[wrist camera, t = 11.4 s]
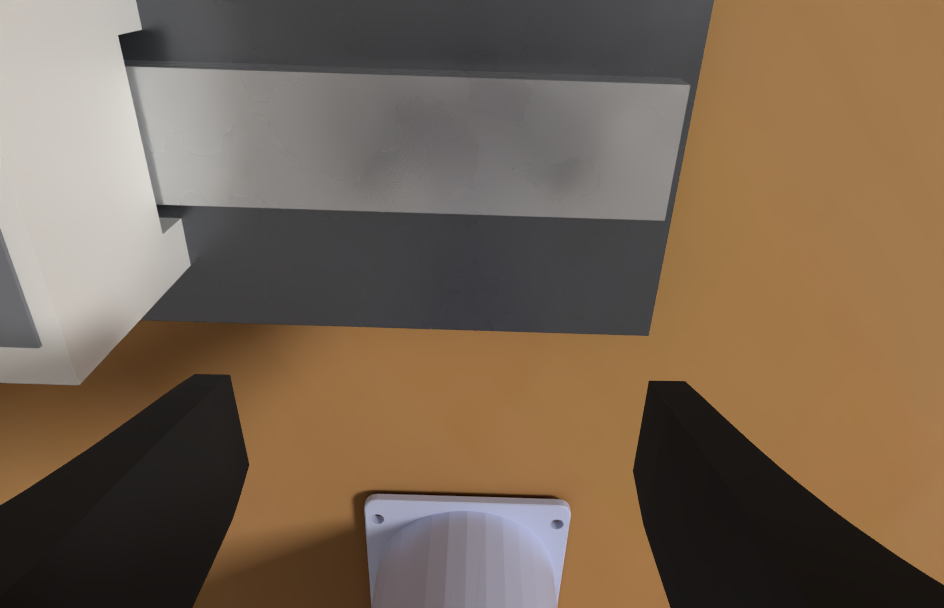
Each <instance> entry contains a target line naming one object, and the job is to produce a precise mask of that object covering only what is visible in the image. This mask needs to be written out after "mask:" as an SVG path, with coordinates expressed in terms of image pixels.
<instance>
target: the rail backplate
mask: <svg viewBox="0 0 944 608" xmlns="http://www.w3.org/2000/svg"><path fill="white" fill-rule="evenodd" d="M136 2H137V7H138V12H139V17H140V22H141V27H142V30H139V31H134V32H130V33H125V34H121V35H118V38H119V42H120V46H121V51H122V55H123V60H124V64H125V69H126V73H127V78H128V82H129V87H130V91H131V95H132V100H133V104H134V109H135V113H136V118H137V122H138V127H139V131H140V136H141V140H142V144H143V149H144V153H145V158H146V162H147V167H148V171H149V176H150V180H151V185H152V189H153V193H154V198H155V202H156V207H157V211H158V216H159V218H181V220H182V225H183V230H184V235H185V240H186V244H187V249H188V254H189V259H190V264H191V266H190V267H189V268H188V269H187V270H186V271H185V272H184V273H183V274H182V275H181V276H180V277H179V279H178V280H177V281H176V282H175V283H174V284H173V285H172V286H171V287H170V288H169V289H168V290H167V291H166V293H165V294H164V295H163V296H162V297H161V298H160V299H159V300H158V301H157V302H156V303H155V304H154V306H153V307H152V308H151V309H150V310H149V311H148V312H147V313H146V314H145V315H144V316H143V317H142V318H141V320H156V321H188V322H220V323H252V324H285V325H317V326H349V327H382V328H414V329H446V330H478V331H511V332H543V333H575V334H608V335H640V336H648V335H649V330H650V325H651V320H652V315H653V310H654V305H655V299H656V294H657V289H658V284H659V279H660V274H661V269H662V264H663V258H664V253H665V248H666V243H667V238H668V233H669V228H670V223H671V217H672V212H673V207H674V202H675V197H676V192H677V187H678V182H679V176H680V171H681V166H682V161H683V156H684V151H685V146H686V141H687V135H688V130H689V125H690V120H691V115H692V110H693V105H694V99H695V94H696V89H697V84H698V79H699V74H700V69H701V64H702V58H703V53H704V48H705V43H706V38H707V33H708V28H709V23H710V17H711V12H712V7H713V2H714V0H136Z"/></svg>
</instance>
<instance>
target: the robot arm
mask: <svg viewBox="0 0 944 608" xmlns="http://www.w3.org/2000/svg"><path fill="white" fill-rule="evenodd" d="M248 467H249V462H248V457H247V452H246V448H245V443H244V438H243V434H242V429H241V424H240V420H239V415H238V410H237V406H236V401H235V396H234V392H233V387H232V382H231V378H230V375H210V374H194V375H193V376H191V377H190V378H188V379H186V380H185V381H183V382H182V383H180V384H179V385H177V386H176V387H175V388H173V389H172V390H170V391H169V392H167V393H166V394H165V395H163V396H162V397H160V398H159V399H158V400H156V401H155V402H154V403H152V404H151V405H149V406H148V407H147V408H145V409H144V410H142V411H141V412H140V413H138V414H137V415H136V416H134V417H133V418H131V419H130V420H129V421H127V422H126V423H124V424H123V425H121V426H120V427H119V428H117V429H116V430H114V431H113V432H112V433H110V434H109V435H107V436H106V437H105V438H103V439H102V440H100V441H99V442H98V443H96V444H95V445H93V446H92V447H90V448H89V449H87V450H86V451H84V452H83V453H81V454H80V455H78V456H77V457H75V458H74V459H72V460H71V461H69V462H68V463H66V464H65V465H63V466H62V467H60V468H59V469H57V470H56V471H54V472H53V473H51V474H49V475H48V476H46V477H45V478H43V479H42V480H40V481H39V482H37V483H36V484H34V485H33V486H31V487H30V488H28V489H27V490H25V491H23V492H22V493H20V494H18V495H17V496H15V497H14V498H12V499H10V500H9V501H7V502H5V503H4V504H2V505H0V608H192V607H193V605H194V603H195V601H196V598H197V596H198V594H199V592H200V590H201V588H202V585H203V583H204V581H205V579H206V577H207V575H208V572H209V570H210V568H211V566H212V564H213V562H214V559H215V557H216V555H217V553H218V551H219V548H220V546H221V544H222V542H223V540H224V537H225V535H226V533H227V531H228V528H229V526H230V524H231V521H232V519H233V516H234V513H235V510H236V507H237V504H238V501H239V498H240V495H241V491H242V488H243V484H244V481H245V478H246V474H247V471H248ZM633 473H634V478H635V484H636V489H637V495H638V500H639V505H640V510H641V515H642V520H643V524H644V528H645V531H646V534H647V537H648V540H649V544H650V547H651V550H652V553H653V556H654V559H655V562H656V565H657V568H658V571H659V574H660V577H661V580H662V583H663V586H664V589H665V592H666V595H667V598H668V601H669V604H670V607H671V608H944V585H943V584H941V583H939V582H938V581H936V580H934V579H933V578H931V577H929V576H928V575H926V574H925V573H923V572H922V571H920V570H918V569H917V568H915V567H914V566H912V565H911V564H909V563H908V562H906V561H905V560H903V559H901V558H900V557H898V556H897V555H895V554H894V553H893V552H891V551H890V550H888V549H887V548H885V547H884V546H882V545H881V544H880V543H878V542H877V541H875V540H874V539H872V538H871V537H870V536H868V535H867V534H865V533H864V532H862V531H861V530H859V529H858V528H857V527H855V526H854V525H852V524H851V523H850V522H848V521H847V520H846V519H844V518H843V517H841V516H840V515H839V514H837V513H836V512H835V511H833V510H832V509H831V508H829V507H828V506H827V505H826V504H824V503H823V502H822V501H821V500H819V499H818V498H817V497H816V496H814V495H813V494H812V493H811V492H809V491H808V490H807V489H806V488H804V487H803V486H802V485H801V484H799V483H798V482H797V481H796V480H794V479H793V478H792V477H791V476H790V475H788V474H787V473H786V472H785V471H784V470H782V469H781V468H780V467H779V466H778V465H777V464H775V463H774V462H773V461H772V460H771V459H770V458H768V457H767V456H766V455H765V454H764V453H763V452H762V451H760V450H759V449H758V448H757V447H756V446H755V445H754V444H753V443H751V442H750V441H749V440H748V439H747V438H746V437H745V436H744V435H743V434H742V433H740V432H739V431H738V430H737V429H736V428H735V427H734V426H733V425H732V424H731V423H730V422H729V421H727V420H726V419H725V418H724V417H723V416H722V415H721V414H720V413H719V412H718V411H717V410H716V409H715V408H714V407H712V406H711V405H710V404H709V403H708V402H707V401H706V400H705V399H704V398H703V397H702V396H701V395H700V394H699V393H697V392H696V391H695V390H694V389H693V388H692V387H691V386H690V385H689V384H687V383H686V382H685V381H649V384H648V389H647V395H646V401H645V406H644V412H643V418H642V423H641V429H640V435H639V440H638V446H637V451H636V457H635V463H634V468H633ZM364 514H365V528H366V541H367V554H368V568H369V581H370V594H371V608H557V604H558V597H559V590H560V583H561V577H562V570H563V563H564V557H565V550H566V543H567V536H568V530H569V523H570V516H571V513H570V507H569V504H568V503H567V502H566V501H564V500H560V499H537V498H504V497H470V496H436V495H403V494H372V495H370V496H368V498H367V499H366V502H365V506H364ZM375 514H378V515H381V516H376V515H375ZM553 520H559V521H553Z"/></svg>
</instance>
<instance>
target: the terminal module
mask: <svg viewBox="0 0 944 608" xmlns="http://www.w3.org/2000/svg"><path fill="white" fill-rule="evenodd" d="M139 30H142V27H141V22H140V17H139V12H138V7H137V2H136V0H0V383H21V384H53V385H80V384H81V383H82V382H83V381H84V380H85V379H86V378H87V377H88V376H89V374H90V373H91V372H92V371H93V370H94V369H95V368H96V367H97V366H98V365H99V364H100V363H101V362H102V360H103V359H104V358H105V357H106V356H107V355H108V354H109V353H110V352H111V351H112V350H113V349H114V348H115V346H116V345H117V344H118V343H119V342H120V341H121V340H122V339H123V338H124V337H125V336H126V335H127V334H128V332H129V331H130V330H131V329H132V328H133V327H134V326H135V325H136V324H137V323H138V322H139V321H140V320H141V318H142V317H143V316H144V315H145V314H146V313H147V312H148V311H149V310H150V309H151V308H152V307H153V306H154V304H155V303H156V302H157V301H158V300H159V299H160V298H161V297H162V296H163V295H164V294H165V293H166V291H167V290H168V289H169V288H170V287H171V286H172V285H173V284H174V283H175V282H176V281H177V280H178V279H179V277H180V276H181V275H182V274H183V273H184V272H185V271H186V270H187V269H188V268H189V267H190V266H191V264H190V259H189V254H188V249H187V244H186V240H185V235H184V230H183V225H182V220H181V218H159V216H158V211H157V207H156V202H155V198H154V193H153V189H152V185H151V180H150V176H149V171H148V167H147V162H146V158H145V153H144V149H143V144H142V140H141V136H140V131H139V127H138V122H137V118H136V113H135V109H134V104H133V100H132V95H131V91H130V87H129V82H128V78H127V73H126V69H125V64H124V60H123V55H122V51H121V46H120V42H119V38H118V35H121V34H125V33H130V32H134V31H139Z"/></svg>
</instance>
